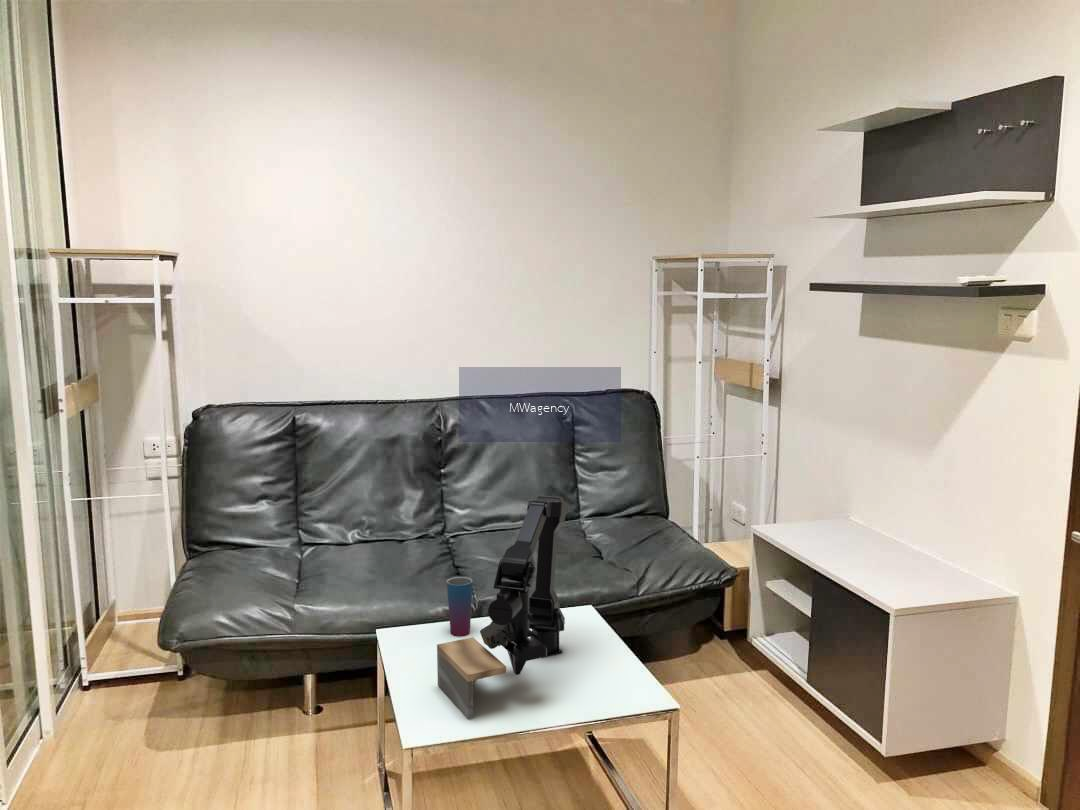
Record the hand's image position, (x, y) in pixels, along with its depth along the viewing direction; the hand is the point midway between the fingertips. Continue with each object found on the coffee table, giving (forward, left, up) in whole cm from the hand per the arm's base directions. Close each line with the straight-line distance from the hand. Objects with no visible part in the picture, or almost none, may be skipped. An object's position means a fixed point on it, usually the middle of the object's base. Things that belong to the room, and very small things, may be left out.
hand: (517, 674), depth 197 cm
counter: (+12, 0, -3) cm, 12 cm away
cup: (0, -34, -3) cm, 34 cm away
